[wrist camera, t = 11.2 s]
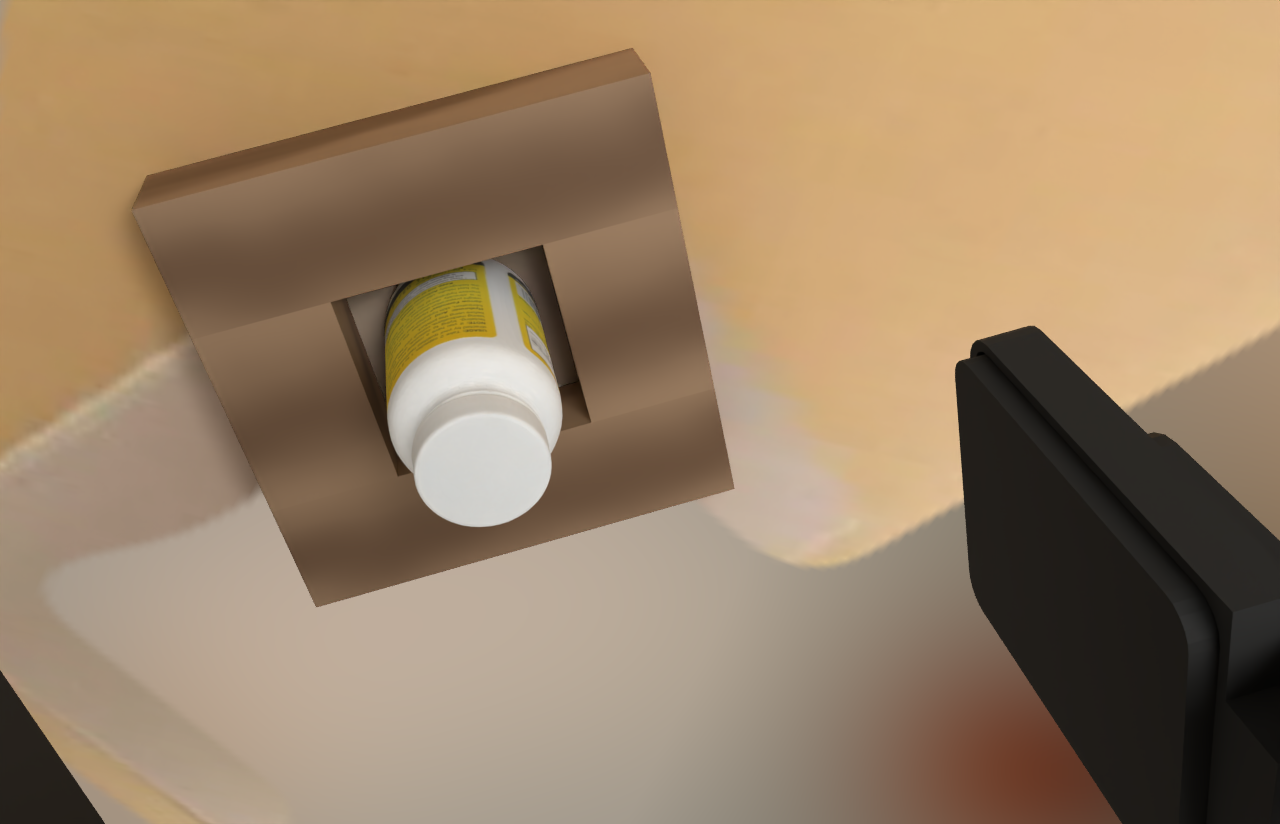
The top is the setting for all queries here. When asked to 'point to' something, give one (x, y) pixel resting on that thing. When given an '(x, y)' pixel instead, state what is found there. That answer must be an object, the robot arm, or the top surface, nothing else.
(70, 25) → the top surface
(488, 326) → the supplement bottle
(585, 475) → the socket block
